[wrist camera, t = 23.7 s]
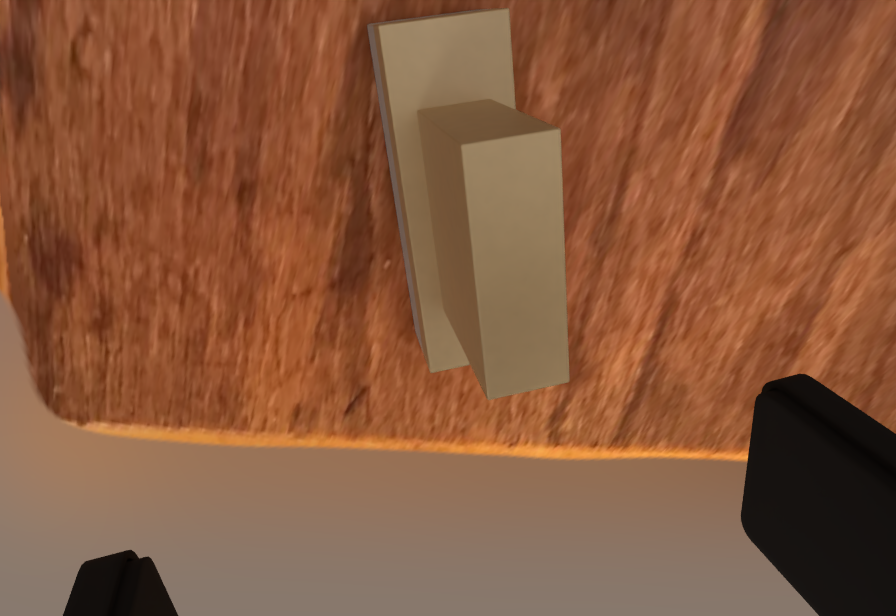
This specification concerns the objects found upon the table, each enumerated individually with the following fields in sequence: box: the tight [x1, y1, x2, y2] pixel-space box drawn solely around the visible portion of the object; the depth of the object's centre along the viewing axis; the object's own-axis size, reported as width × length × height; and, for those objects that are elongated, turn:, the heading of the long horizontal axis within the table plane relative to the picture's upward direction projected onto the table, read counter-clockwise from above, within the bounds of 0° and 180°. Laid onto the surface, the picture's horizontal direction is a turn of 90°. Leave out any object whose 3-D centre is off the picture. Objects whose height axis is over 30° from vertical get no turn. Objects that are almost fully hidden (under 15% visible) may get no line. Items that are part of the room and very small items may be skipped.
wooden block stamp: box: [367, 8, 569, 400], centre depth 20 cm, size 4×12×10 cm, turn 7°
